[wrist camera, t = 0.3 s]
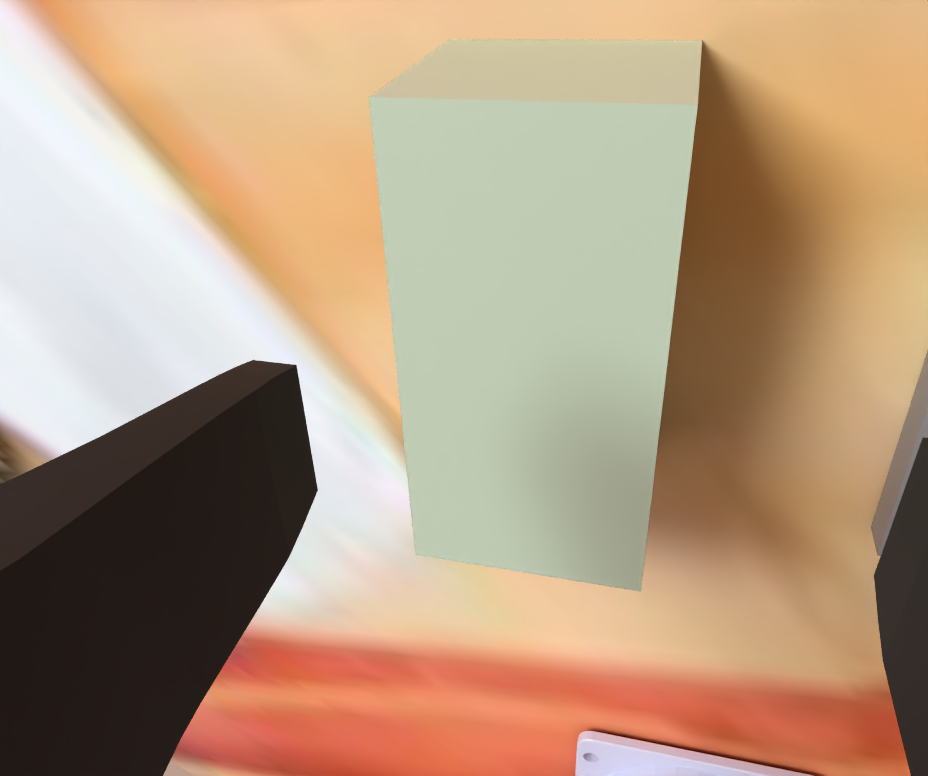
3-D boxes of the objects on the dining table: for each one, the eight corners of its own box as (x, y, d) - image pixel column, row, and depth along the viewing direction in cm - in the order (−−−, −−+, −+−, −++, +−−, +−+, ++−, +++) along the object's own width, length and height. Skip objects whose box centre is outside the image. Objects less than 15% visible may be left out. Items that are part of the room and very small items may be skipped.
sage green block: (654, 449, 21) (640, 591, 17) (469, 426, 22) (415, 554, 18) (701, 38, 15) (697, 105, 11) (452, 37, 17) (368, 97, 13)
